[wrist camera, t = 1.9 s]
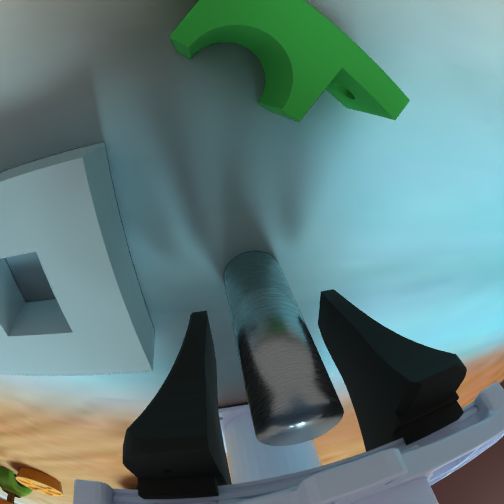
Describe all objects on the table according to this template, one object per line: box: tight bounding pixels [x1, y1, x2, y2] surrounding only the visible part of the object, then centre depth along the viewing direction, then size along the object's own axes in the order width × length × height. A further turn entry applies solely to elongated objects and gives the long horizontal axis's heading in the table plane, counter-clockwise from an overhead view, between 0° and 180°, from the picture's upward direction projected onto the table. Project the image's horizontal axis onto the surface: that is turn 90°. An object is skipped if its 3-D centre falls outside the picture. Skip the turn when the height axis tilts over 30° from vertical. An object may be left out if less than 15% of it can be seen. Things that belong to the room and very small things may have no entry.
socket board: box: [0, 142, 155, 376], centre depth 13 cm, size 11×11×3 cm
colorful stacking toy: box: [0, 466, 63, 504], centre depth 22 cm, size 18×17×12 cm
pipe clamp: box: [170, 0, 410, 122], centre depth 9 cm, size 10×4×4 cm, turn 54°
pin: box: [224, 251, 344, 446], centre depth 13 cm, size 3×3×9 cm
